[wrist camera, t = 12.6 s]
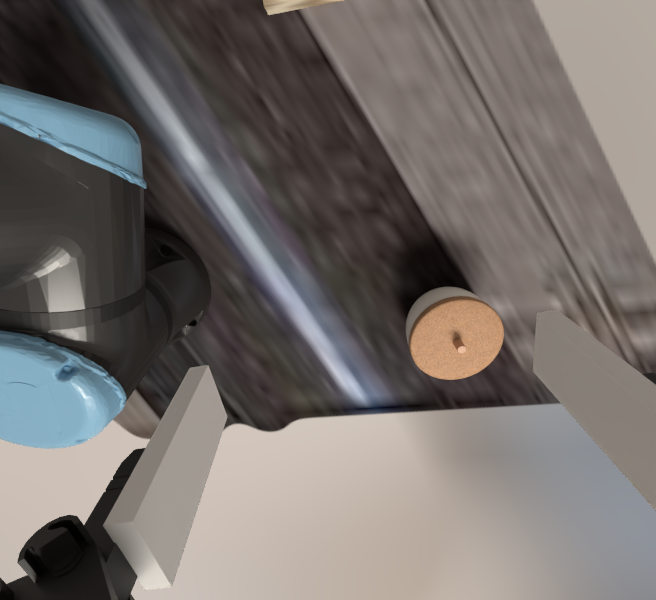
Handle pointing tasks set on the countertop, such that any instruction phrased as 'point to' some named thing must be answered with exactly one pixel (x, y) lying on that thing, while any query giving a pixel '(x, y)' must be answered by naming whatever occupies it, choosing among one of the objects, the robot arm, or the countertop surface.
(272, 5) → the base block
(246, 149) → the countertop surface
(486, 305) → the lidded jar
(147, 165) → the countertop surface
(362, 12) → the countertop surface
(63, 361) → the robot arm
